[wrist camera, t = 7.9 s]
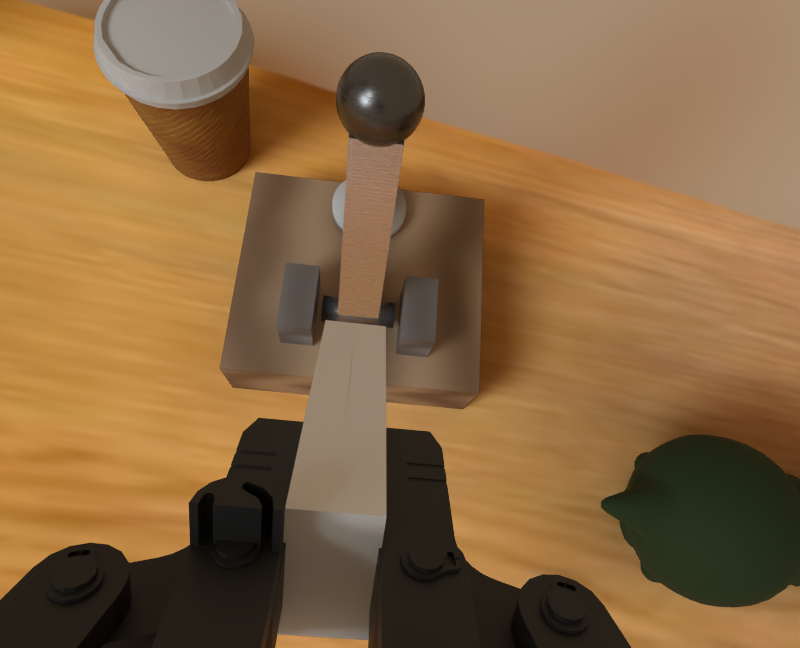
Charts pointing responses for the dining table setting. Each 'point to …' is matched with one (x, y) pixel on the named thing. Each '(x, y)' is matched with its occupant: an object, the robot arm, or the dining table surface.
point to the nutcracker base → (320, 275)
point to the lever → (372, 179)
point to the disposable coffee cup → (183, 77)
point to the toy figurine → (712, 520)
